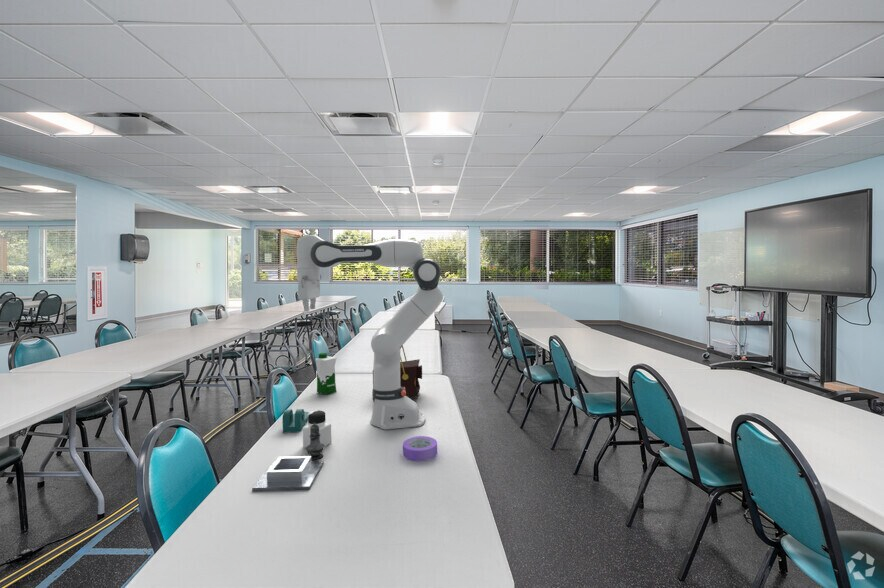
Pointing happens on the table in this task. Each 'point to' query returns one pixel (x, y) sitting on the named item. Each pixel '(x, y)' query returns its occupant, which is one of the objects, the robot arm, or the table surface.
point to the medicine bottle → (323, 428)
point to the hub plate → (289, 474)
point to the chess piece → (315, 444)
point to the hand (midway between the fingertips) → (309, 310)
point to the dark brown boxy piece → (410, 376)
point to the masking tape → (420, 448)
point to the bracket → (294, 420)
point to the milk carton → (325, 374)
